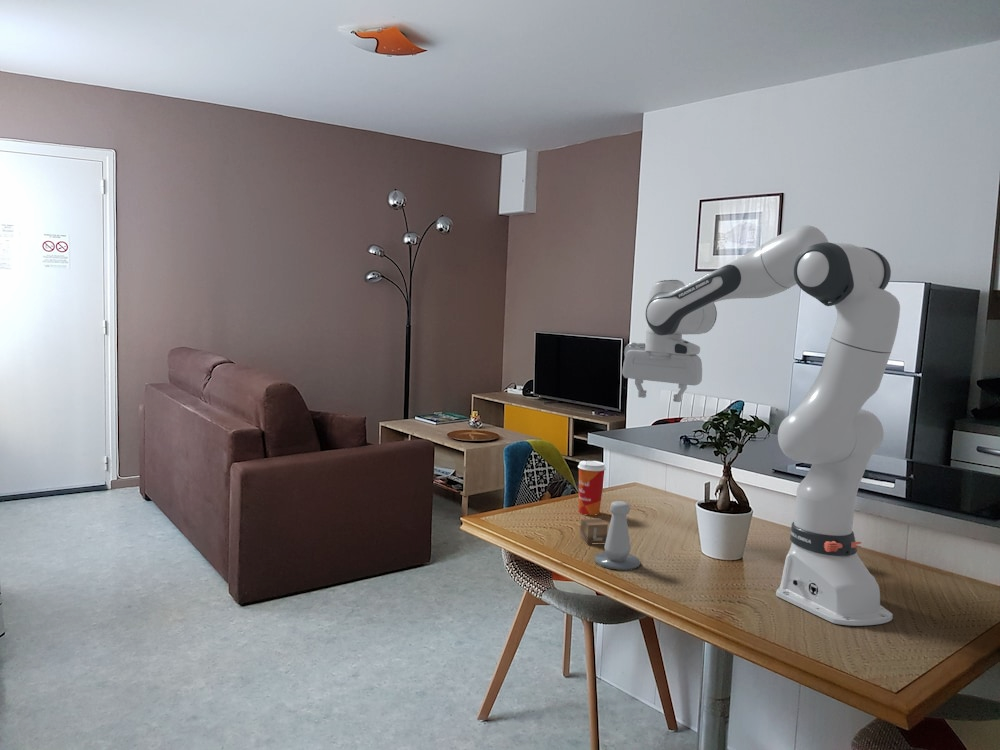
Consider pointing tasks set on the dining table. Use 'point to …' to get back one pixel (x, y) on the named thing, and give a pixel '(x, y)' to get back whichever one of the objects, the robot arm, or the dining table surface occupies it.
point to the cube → (593, 530)
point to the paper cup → (590, 486)
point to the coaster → (628, 564)
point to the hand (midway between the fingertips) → (659, 399)
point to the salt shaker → (618, 533)
